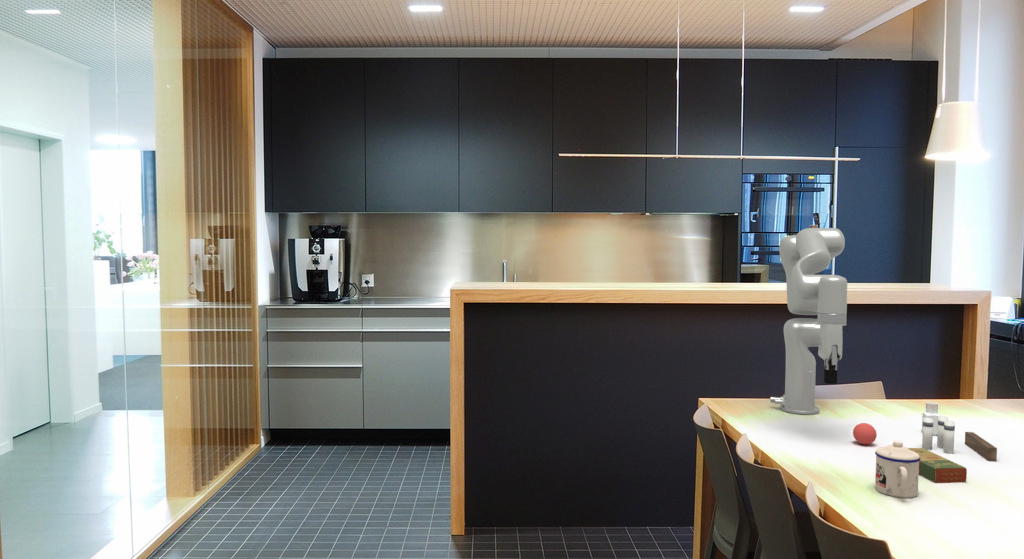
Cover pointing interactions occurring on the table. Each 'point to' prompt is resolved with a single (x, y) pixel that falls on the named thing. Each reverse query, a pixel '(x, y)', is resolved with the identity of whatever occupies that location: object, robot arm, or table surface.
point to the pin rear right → (949, 437)
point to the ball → (864, 433)
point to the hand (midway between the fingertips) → (830, 383)
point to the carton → (939, 468)
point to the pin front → (927, 433)
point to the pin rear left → (941, 431)
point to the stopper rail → (981, 446)
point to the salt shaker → (932, 415)
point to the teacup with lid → (897, 471)
